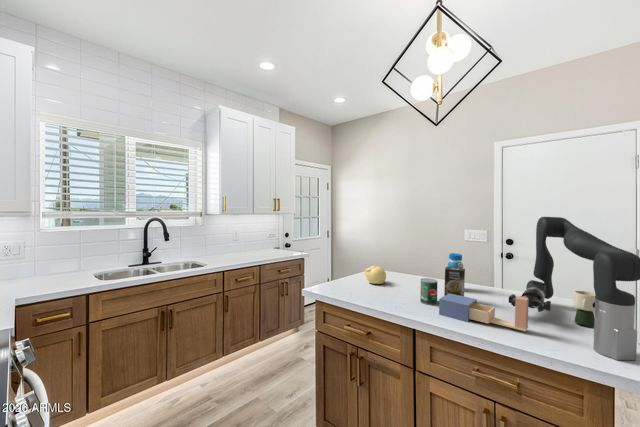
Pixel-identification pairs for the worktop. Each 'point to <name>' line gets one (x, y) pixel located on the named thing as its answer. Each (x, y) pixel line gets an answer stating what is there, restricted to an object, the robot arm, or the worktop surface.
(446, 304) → the sleeve
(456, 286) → the coffee box
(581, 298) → the character mug
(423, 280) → the canned tomato
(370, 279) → the yellow apple
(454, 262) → the beverage bottle
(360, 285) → the worktop surface
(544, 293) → the robot arm
